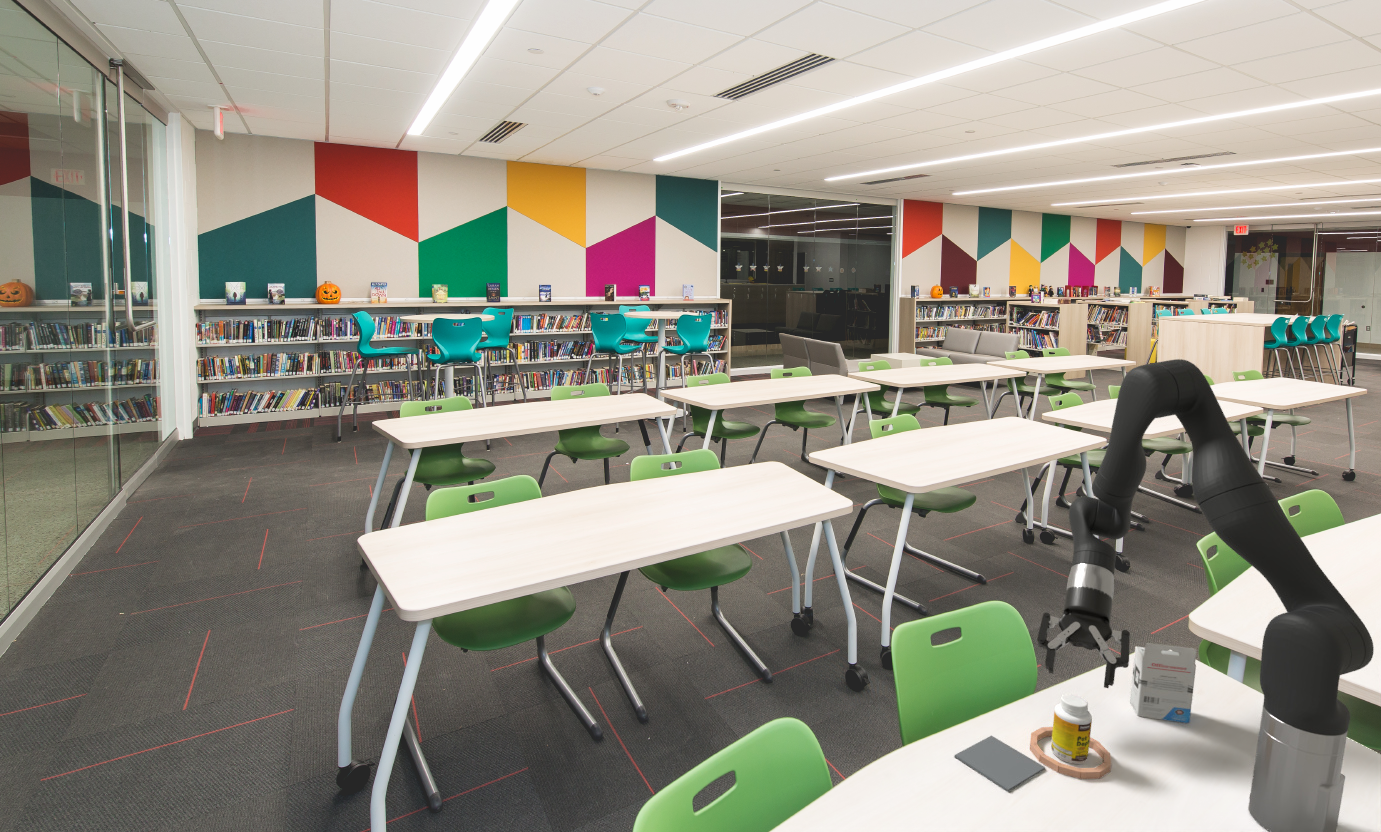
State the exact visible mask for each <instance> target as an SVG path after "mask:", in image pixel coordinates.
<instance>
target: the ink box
mask: <svg viewBox="0 0 1381 832" xmlns="http://www.w3.org/2000/svg"><path fill="white" fill-rule="evenodd" d="M1144 644H1145V645H1144V647H1143V646H1135V647H1134V657H1133V668H1132V676H1131V688H1130V696H1129V704H1130V706H1131V707H1132V709H1133V710H1134V712H1135V715H1137V716H1138V717H1141V718H1149V719H1154V720H1155V719H1156V720H1161V721H1162V720H1163V721H1170V722H1178V723H1185V724H1190V721H1191V713H1192V705H1193V697H1194V695H1193V694H1194V687H1195V679H1196V678H1195V677H1196V670H1197V669H1196V668H1197V665H1196V659H1197V652H1198V651H1197V649H1196V648H1195V647H1187V646H1179V645H1173V644H1172V645H1171V644H1161V643H1152V642H1146V643H1144Z"/></svg>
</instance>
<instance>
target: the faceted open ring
mask: <svg viewBox="0 0 1381 832" xmlns="http://www.w3.org/2000/svg"><path fill="white" fill-rule="evenodd" d="M1052 732H1053V726H1043V727H1039V728H1038V729H1036V730H1033V732H1031V734H1030V741H1029V742H1030V743H1029V750H1030V752H1031V753H1032V755H1033V756H1034V757H1035V758H1036V759H1037V762H1038V763H1040V764H1041V765H1042V764H1043V766H1046V767H1048V769H1051V770H1052V771H1054V772H1056V773H1058V774H1062V775H1064V776H1068V777H1072V778H1076V779H1078V780H1089V779H1090V780H1094V779H1098V780H1099V779H1102V778H1103V777H1104V776H1106V775H1107V774H1109V773H1111V771H1112V769H1111V768H1112V757H1111V753H1110V752H1109V750H1108V749H1106V747H1105V746H1104V745H1102V744H1101V742H1099V741H1098V740H1096V739H1095V738H1092V737H1091V736H1090V742H1089V749H1093V751H1095V752H1096V754H1097V755H1098V756H1099V757H1100V758H1101V759H1102V763H1101V764H1099V765H1097V766H1096V767H1076V766H1072V765H1069V764H1065V763H1061V762H1059V761H1058V760H1056V759H1054V758H1052V757H1051V756H1049V755H1047V754H1046V753H1045V752H1044V751H1043V750H1042V749H1041V748H1040V746H1039V745H1038V742H1039V741H1040V740H1043V739H1044V738H1047V737H1049V738H1052Z"/></svg>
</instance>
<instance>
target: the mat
mask: <svg viewBox="0 0 1381 832" xmlns="http://www.w3.org/2000/svg"><path fill="white" fill-rule="evenodd" d="M954 758H955V759H957V760H958V761H959V762H961V763H962V764H964V765H965V766H967V767H969V768H970V769H972V770H973V771H975V772H977V774H980V775H981V776H983V777H984V778H985V779H987V780H989V781H991V782H992V783H993V784H995V785H996V786H998V787H1000V788H1001V789H1002V790H1004V791H1005V792H1007V793H1009V792H1010V791H1012V790H1013V789H1015V788H1017V787H1019V786H1020V785H1022V784H1023V783H1025V782H1026V781H1029V780H1031V779H1033V777H1035V776H1037V775H1038V774H1040V773H1042V772H1043V771H1045V770H1046V767H1045V765H1042V763H1040V762H1038V761H1036V760H1034V759H1033V758H1030V757H1029V756H1027V755H1025V754H1023V753H1022V752H1020V751H1018V750H1017V749H1016V748H1013V747H1012V746H1010V745H1008V744H1007V743H1006V742H1003V741H1002V740H1000V739H999V738H996V737H995V736H993V735H990V736H987V737H985V738H984V739H982V740H980V741H979V742H977V743H976V742H975V743H974V744H973V745H971V746H969V747H967V748H965V749H963V750H961V751H960V752H957V753H956V754H954Z"/></svg>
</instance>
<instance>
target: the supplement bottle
mask: <svg viewBox="0 0 1381 832" xmlns="http://www.w3.org/2000/svg"><path fill="white" fill-rule="evenodd" d="M1092 717H1093V716H1092V714H1091V712H1090V711H1089V703H1088V701H1087V699H1085V698H1084V697H1082V696H1080V695H1078V694H1073V693H1065V694H1062V695H1061V697H1060V702H1059V703H1058V704H1056V705H1055V707H1054V712H1053V723H1052V724H1053V725H1052V727H1053V732H1052V737H1051V744H1050V745H1051V746H1050V747H1051V751H1052V753H1053V754H1054V755H1055V756H1056V757H1057V758H1058V759H1059V760H1061V761H1063V762H1065V763H1069V764H1072V765H1073V764H1076V765H1078V764H1079V765H1080V764H1083V763H1085V762H1087V760H1088V758H1089V751H1090V747H1089V742H1090V737H1091V730H1092V723H1093V722H1092V721H1093V720H1092V719H1093V718H1092Z"/></svg>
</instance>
